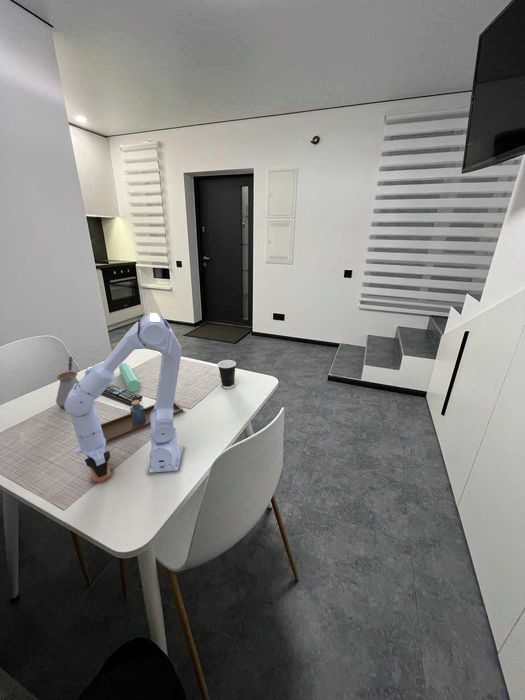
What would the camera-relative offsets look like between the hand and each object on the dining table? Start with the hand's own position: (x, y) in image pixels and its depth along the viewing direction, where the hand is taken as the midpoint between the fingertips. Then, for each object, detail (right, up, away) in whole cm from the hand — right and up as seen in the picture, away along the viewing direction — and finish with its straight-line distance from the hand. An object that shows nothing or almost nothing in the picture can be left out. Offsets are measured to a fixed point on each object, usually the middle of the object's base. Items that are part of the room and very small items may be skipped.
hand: (100, 469), depth 79 cm
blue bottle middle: (+1, +8, +24) cm, 25 cm away
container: (-17, +19, +53) cm, 59 cm away
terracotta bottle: (0, -2, +1) cm, 2 cm away
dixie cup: (+30, +17, +48) cm, 59 cm away
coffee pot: (-33, +13, +40) cm, 53 cm away
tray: (+1, +7, +24) cm, 25 cm away
